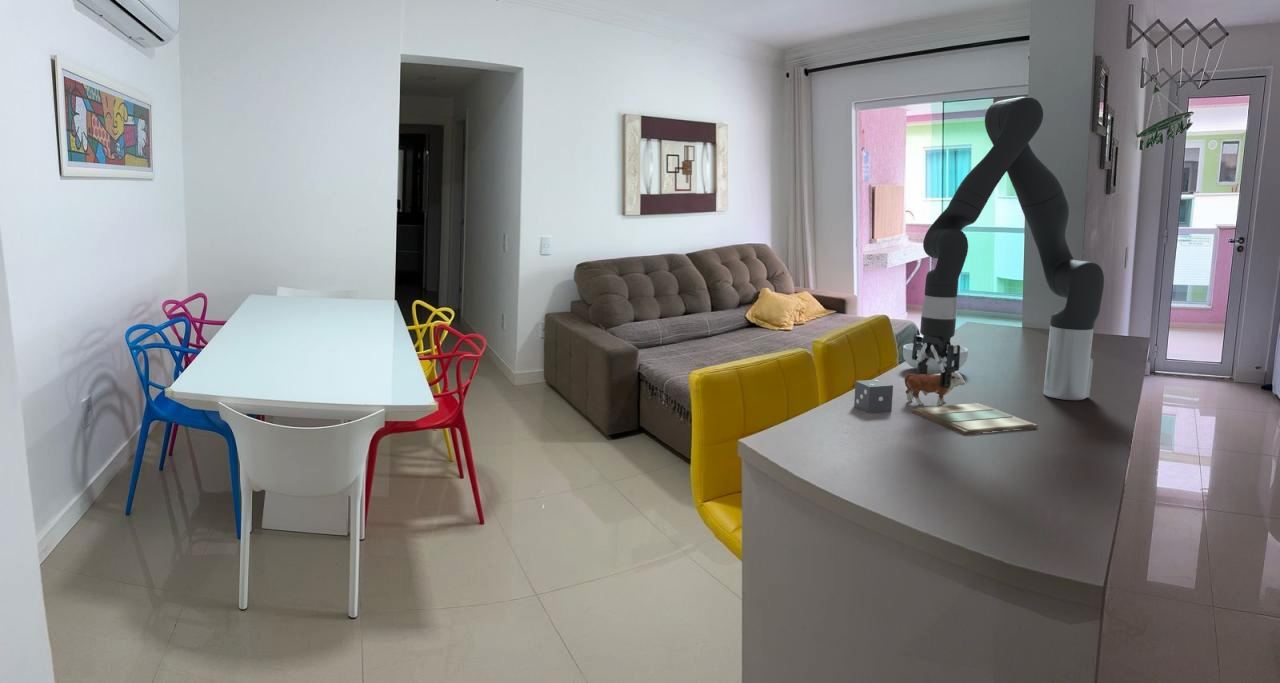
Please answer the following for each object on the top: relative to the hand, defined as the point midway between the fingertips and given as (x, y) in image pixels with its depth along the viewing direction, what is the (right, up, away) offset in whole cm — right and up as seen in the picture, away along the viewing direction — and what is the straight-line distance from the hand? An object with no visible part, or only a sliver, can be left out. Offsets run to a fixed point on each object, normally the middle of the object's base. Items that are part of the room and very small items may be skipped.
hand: (932, 383), depth 181 cm
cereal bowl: (+14, +1, +35) cm, 38 cm away
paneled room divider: (+4, -7, -12) cm, 15 cm away
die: (-15, -6, -3) cm, 16 cm away
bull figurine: (0, -5, +1) cm, 5 cm away
